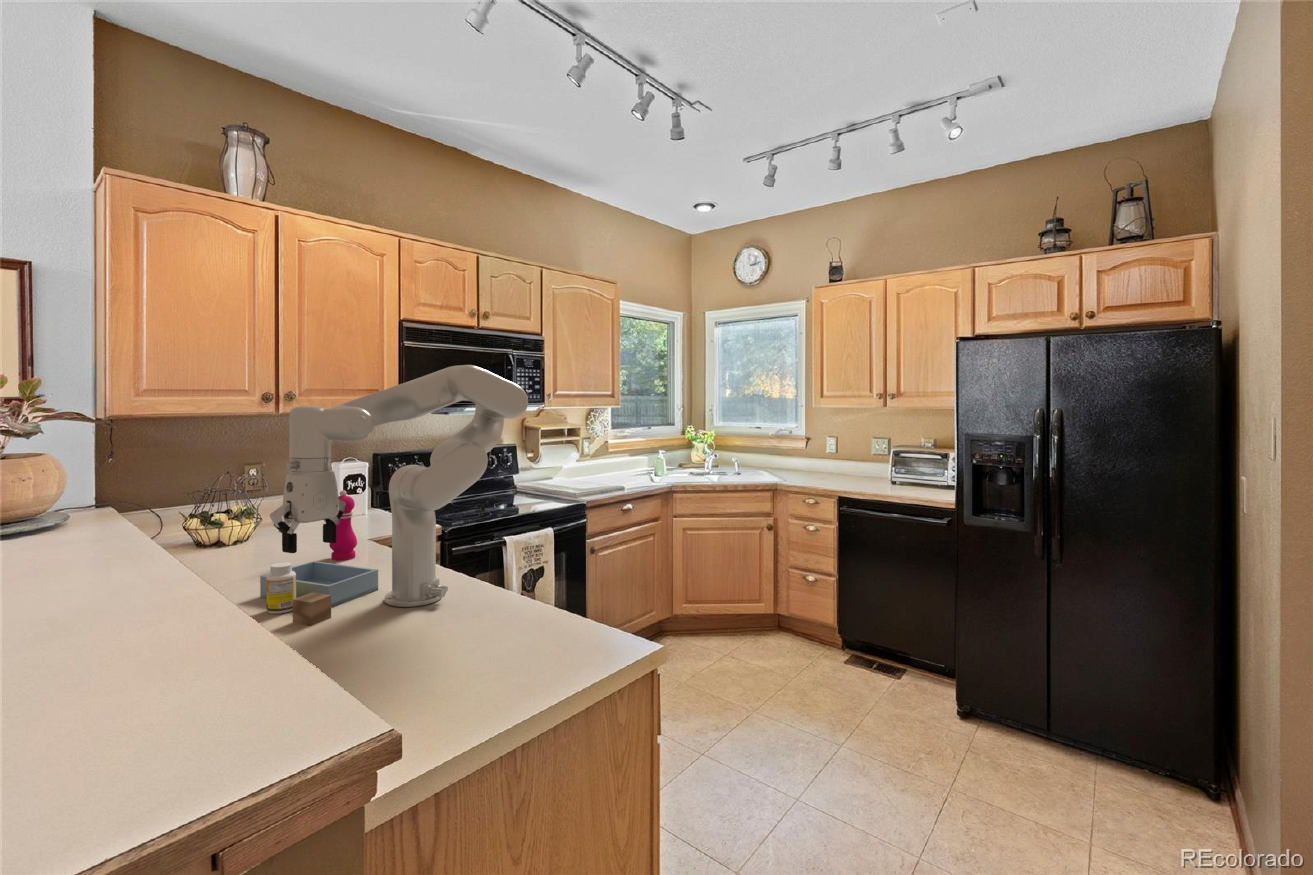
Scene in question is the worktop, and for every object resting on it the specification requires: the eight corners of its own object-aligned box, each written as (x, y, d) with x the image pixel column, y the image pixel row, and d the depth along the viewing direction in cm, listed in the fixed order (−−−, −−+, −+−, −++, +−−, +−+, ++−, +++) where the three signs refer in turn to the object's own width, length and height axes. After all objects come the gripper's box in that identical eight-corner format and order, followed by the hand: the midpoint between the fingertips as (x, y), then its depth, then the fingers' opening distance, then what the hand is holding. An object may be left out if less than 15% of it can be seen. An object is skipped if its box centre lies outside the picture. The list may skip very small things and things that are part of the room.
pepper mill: (336, 562, 171) (336, 493, 170) (324, 558, 175) (324, 490, 174) (361, 557, 177) (361, 490, 176) (349, 553, 181) (349, 487, 180)
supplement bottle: (277, 605, 135) (276, 560, 134) (301, 606, 135) (301, 561, 134) (260, 614, 129) (259, 567, 128) (286, 615, 129) (285, 568, 128)
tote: (378, 589, 148) (378, 569, 147) (328, 608, 134) (328, 586, 133) (313, 580, 154) (313, 561, 154) (260, 597, 140) (260, 576, 140)
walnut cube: (331, 618, 128) (331, 595, 128) (311, 626, 123) (310, 602, 123) (313, 615, 130) (313, 592, 129) (292, 623, 125) (292, 599, 125)
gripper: (286, 470, 115) (286, 558, 116) (357, 463, 132) (357, 540, 132) (257, 468, 118) (257, 554, 118) (331, 461, 134) (330, 537, 135)
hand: (310, 547), depth 125 cm, fingers open, 9 cm apart
